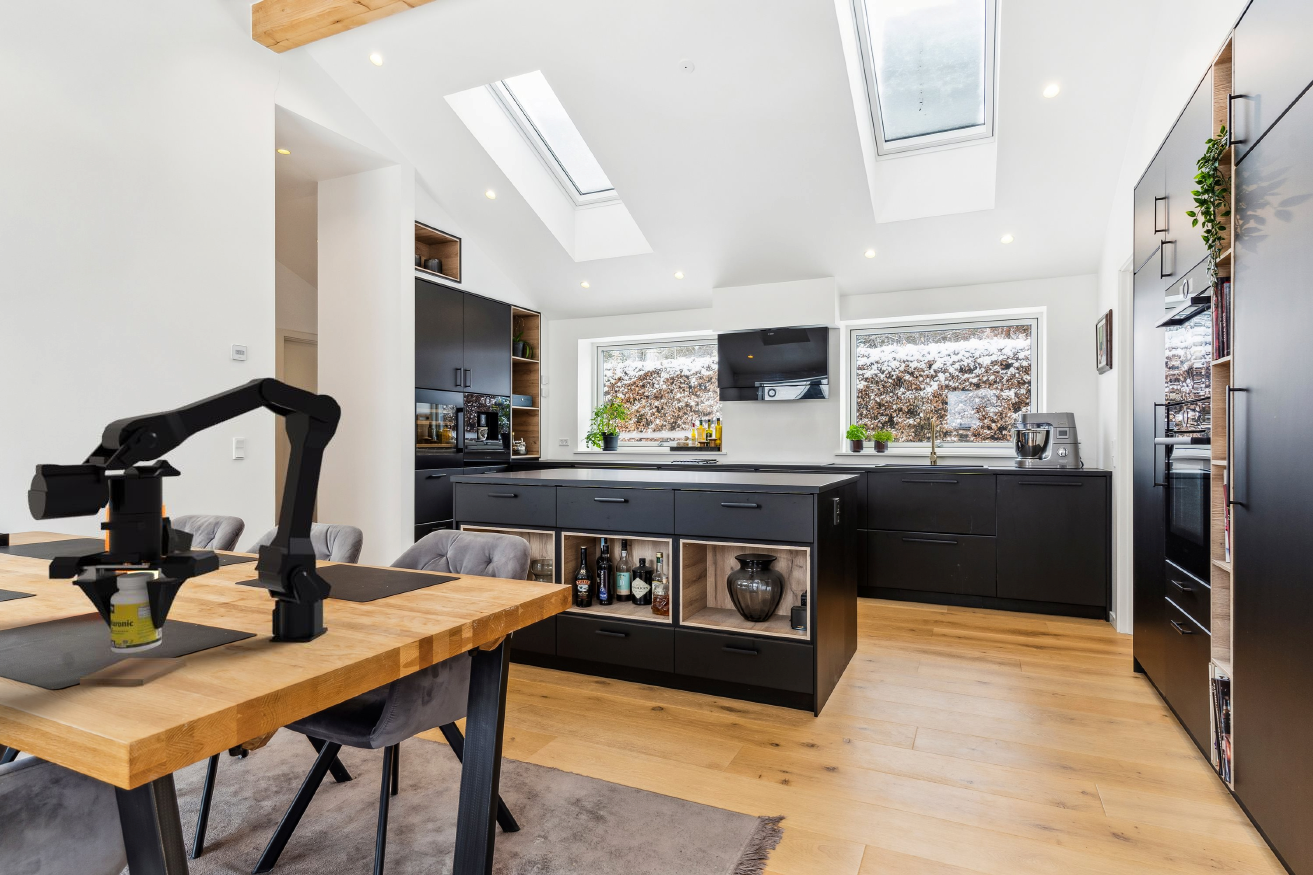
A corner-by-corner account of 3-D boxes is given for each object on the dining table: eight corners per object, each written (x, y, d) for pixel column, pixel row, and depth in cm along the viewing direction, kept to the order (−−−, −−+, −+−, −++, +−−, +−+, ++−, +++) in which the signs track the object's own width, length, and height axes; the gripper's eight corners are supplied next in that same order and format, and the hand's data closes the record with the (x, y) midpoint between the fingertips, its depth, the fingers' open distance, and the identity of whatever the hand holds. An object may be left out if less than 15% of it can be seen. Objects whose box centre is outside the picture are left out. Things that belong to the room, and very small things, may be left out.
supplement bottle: (101, 651, 88) (100, 576, 88) (145, 639, 93) (145, 569, 93) (127, 656, 86) (126, 580, 86) (171, 643, 91) (170, 572, 91)
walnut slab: (186, 675, 93) (186, 657, 93) (143, 698, 85) (143, 678, 85) (128, 675, 93) (128, 657, 93) (80, 698, 85) (80, 678, 85)
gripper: (242, 505, 98) (243, 611, 98) (113, 505, 97) (113, 612, 97) (191, 514, 86) (192, 634, 87) (44, 515, 86) (45, 635, 86)
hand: (136, 628), depth 89 cm, fingers closed on supplement bottle, 5 cm apart
